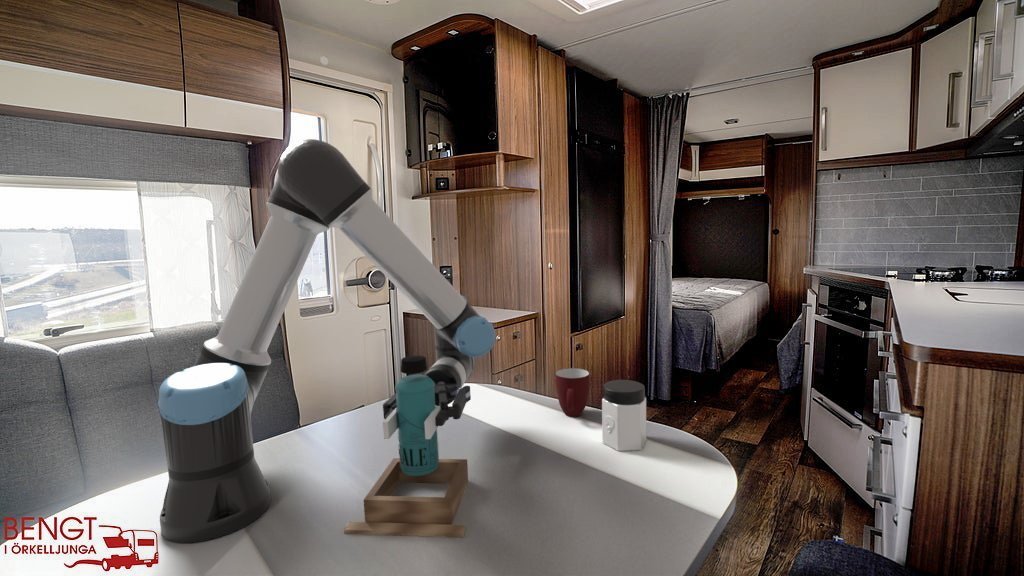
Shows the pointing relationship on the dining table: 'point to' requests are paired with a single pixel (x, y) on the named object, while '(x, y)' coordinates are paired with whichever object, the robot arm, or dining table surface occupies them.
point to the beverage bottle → (415, 418)
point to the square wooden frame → (414, 503)
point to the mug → (572, 390)
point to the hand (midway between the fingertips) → (406, 430)
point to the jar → (624, 415)
